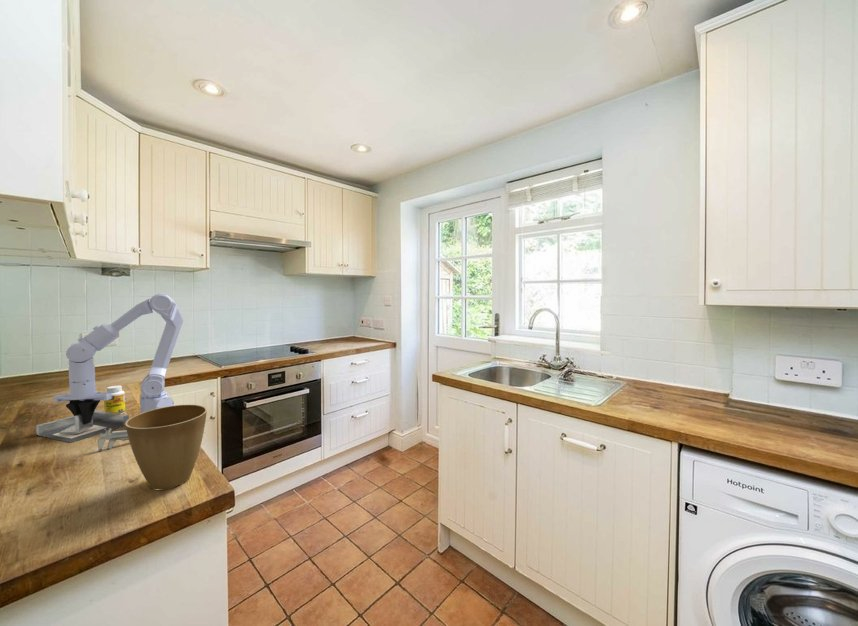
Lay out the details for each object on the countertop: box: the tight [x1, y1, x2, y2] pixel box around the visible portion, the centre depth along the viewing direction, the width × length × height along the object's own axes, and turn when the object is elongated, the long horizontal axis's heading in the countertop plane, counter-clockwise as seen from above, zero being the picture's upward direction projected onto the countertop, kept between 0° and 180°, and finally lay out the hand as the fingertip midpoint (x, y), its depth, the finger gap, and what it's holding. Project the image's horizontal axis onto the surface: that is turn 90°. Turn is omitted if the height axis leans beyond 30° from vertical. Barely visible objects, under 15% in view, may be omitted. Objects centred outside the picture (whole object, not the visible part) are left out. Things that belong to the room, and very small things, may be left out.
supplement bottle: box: [103, 385, 126, 414], centre depth 123 cm, size 6×6×10 cm
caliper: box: [97, 428, 129, 452], centre depth 102 cm, size 20×1×6 cm, turn 143°
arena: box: [35, 409, 130, 444], centre depth 109 cm, size 16×15×3 cm
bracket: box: [59, 413, 93, 434], centre depth 106 cm, size 6×5×6 cm
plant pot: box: [124, 404, 208, 490], centre depth 78 cm, size 15×15×16 cm
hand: (84, 423), depth 107 cm, fingers closed on bracket
